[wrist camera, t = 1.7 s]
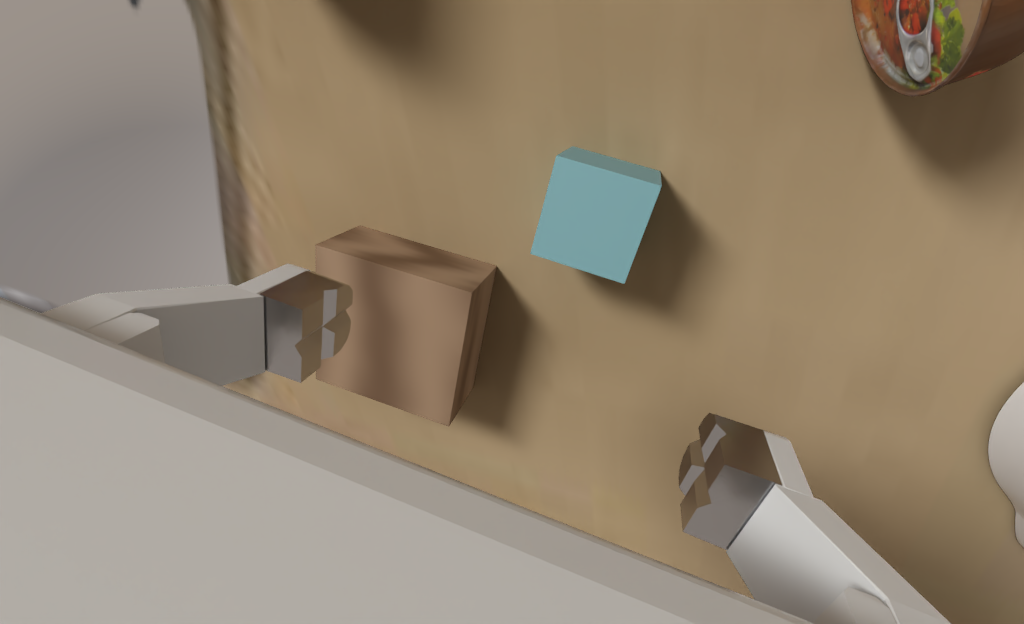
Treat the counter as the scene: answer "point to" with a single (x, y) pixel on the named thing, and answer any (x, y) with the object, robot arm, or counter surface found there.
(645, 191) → the teal cube
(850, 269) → the counter surface
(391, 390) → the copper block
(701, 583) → the robot arm
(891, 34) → the tin
